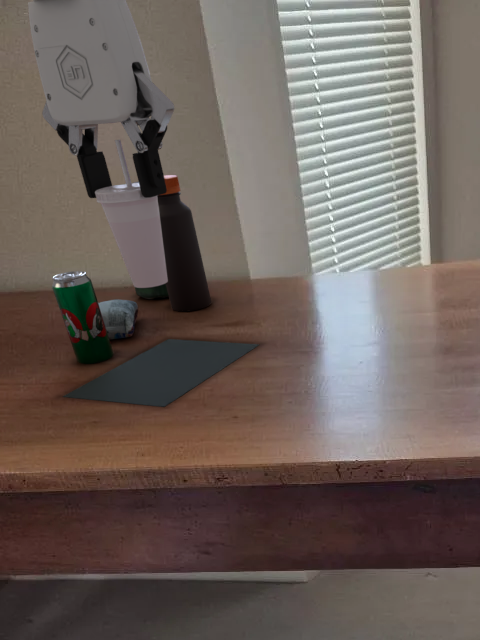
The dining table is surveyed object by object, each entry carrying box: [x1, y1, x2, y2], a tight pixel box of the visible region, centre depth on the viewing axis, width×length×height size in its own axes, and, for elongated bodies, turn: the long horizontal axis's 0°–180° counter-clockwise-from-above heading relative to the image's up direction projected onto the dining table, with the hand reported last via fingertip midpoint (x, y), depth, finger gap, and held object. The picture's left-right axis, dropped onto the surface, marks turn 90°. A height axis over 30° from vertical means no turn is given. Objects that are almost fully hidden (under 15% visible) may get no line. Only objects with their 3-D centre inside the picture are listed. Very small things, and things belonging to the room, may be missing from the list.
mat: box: [62, 338, 260, 408], centre depth 98 cm, size 16×22×1 cm
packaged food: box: [98, 298, 139, 341], centre depth 113 cm, size 9×12×5 cm
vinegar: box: [157, 174, 212, 312], centre depth 119 cm, size 7×7×20 cm
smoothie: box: [95, 139, 168, 288], centre depth 77 cm, size 6×6×14 cm
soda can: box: [51, 270, 115, 365], centre depth 101 cm, size 5×5×12 cm
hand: (127, 193), depth 76 cm, fingers closed on smoothie, 6 cm apart
